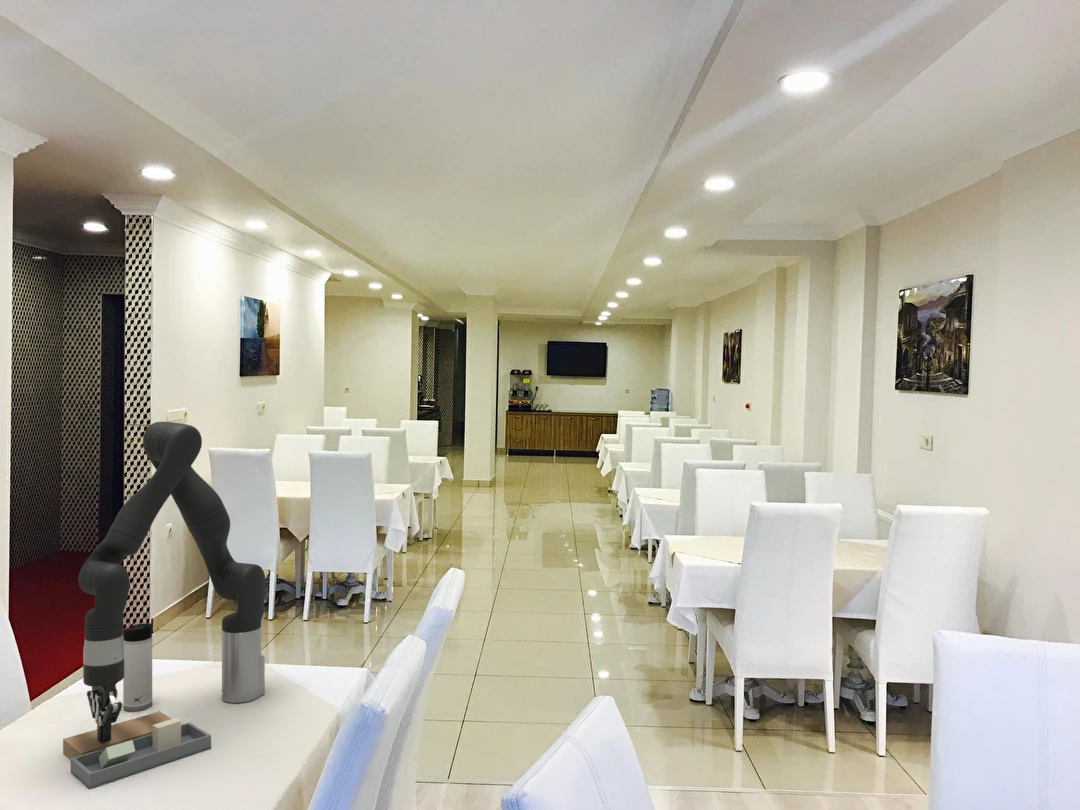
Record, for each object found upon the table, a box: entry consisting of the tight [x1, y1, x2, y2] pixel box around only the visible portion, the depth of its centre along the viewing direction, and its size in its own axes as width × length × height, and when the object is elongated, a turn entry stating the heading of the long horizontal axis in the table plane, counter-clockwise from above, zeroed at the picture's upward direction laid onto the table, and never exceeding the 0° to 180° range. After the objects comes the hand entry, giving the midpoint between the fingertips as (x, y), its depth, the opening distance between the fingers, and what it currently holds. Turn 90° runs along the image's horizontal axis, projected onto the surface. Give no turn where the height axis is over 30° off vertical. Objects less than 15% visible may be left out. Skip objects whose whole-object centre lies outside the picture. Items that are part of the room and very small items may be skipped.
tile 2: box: [152, 717, 182, 751], centre depth 174 cm, size 5×5×2 cm
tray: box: [70, 721, 212, 790], centre depth 168 cm, size 24×10×3 cm, turn 138°
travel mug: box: [122, 622, 153, 713], centre depth 196 cm, size 6×7×20 cm
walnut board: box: [62, 711, 172, 760], centre depth 175 cm, size 20×10×3 cm, turn 138°
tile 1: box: [99, 740, 135, 769], centre depth 164 cm, size 5×5×2 cm
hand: (104, 741), depth 169 cm, fingers closed
